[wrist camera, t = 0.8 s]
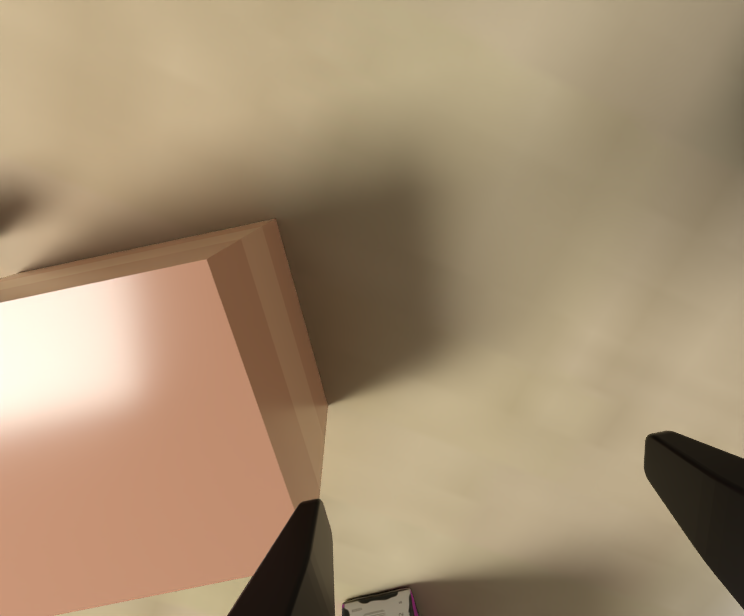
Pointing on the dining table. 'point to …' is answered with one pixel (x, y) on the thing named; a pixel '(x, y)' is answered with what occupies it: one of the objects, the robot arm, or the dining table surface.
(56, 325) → the tile stack
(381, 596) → the candy bar box
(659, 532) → the dining table surface
